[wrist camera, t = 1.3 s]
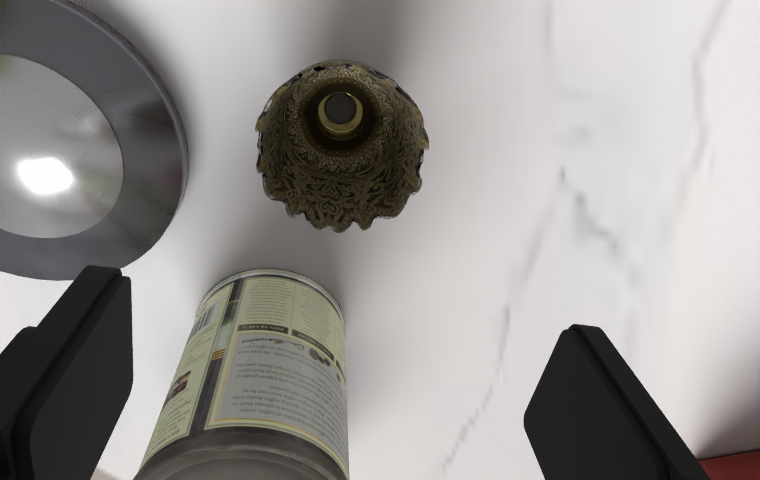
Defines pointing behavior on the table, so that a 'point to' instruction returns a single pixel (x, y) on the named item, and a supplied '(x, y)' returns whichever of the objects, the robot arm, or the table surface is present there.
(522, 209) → the table surface
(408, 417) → the table surface
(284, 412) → the coffee can
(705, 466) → the plant pot
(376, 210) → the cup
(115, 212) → the gray dinner plate
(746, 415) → the table surface
